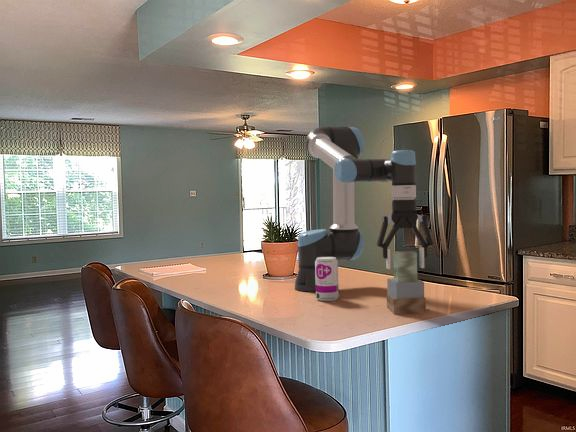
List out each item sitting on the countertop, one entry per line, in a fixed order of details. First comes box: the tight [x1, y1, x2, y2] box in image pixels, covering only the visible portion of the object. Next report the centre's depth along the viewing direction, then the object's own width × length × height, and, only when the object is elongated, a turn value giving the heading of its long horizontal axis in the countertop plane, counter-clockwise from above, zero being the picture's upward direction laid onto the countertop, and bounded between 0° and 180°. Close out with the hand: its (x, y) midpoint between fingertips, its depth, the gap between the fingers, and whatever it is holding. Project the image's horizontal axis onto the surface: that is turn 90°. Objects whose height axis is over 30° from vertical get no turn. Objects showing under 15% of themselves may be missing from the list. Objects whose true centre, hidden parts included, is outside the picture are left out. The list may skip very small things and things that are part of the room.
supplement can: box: [315, 257, 339, 302], centre depth 187 cm, size 8×8×15 cm
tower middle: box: [386, 277, 425, 299], centre depth 167 cm, size 9×9×5 cm
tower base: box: [386, 292, 427, 315], centre depth 167 cm, size 10×10×5 cm
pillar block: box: [392, 250, 418, 282], centre depth 167 cm, size 6×6×9 cm
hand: (405, 268), depth 167 cm, fingers open, 10 cm apart
